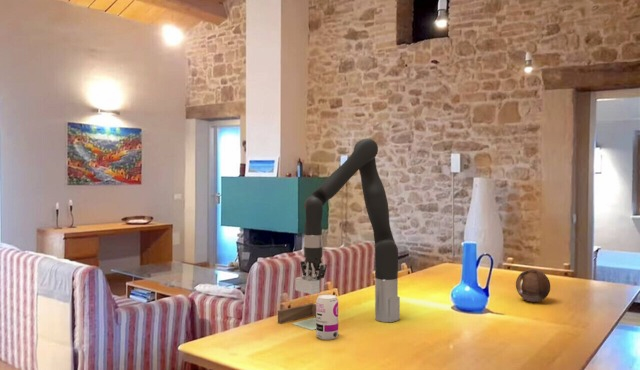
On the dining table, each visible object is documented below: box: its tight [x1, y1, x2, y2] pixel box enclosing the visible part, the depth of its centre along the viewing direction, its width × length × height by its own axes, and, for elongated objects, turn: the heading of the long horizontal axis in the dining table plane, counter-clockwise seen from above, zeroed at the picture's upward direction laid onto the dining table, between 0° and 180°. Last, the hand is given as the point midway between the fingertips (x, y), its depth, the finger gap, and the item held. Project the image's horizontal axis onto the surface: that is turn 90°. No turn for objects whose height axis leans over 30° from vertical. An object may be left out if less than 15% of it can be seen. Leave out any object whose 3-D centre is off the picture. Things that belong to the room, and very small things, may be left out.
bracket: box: [294, 274, 321, 295], centre depth 214 cm, size 10×10×5 cm
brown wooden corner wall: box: [277, 302, 316, 325], centre depth 218 cm, size 14×19×5 cm
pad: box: [291, 317, 316, 331], centre depth 214 cm, size 12×12×1 cm
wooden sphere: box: [515, 268, 551, 303], centre depth 250 cm, size 15×15×15 cm
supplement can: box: [315, 294, 339, 341], centre depth 197 cm, size 8×8×15 cm
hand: (313, 287), depth 218 cm, fingers closed on bracket, 4 cm apart
